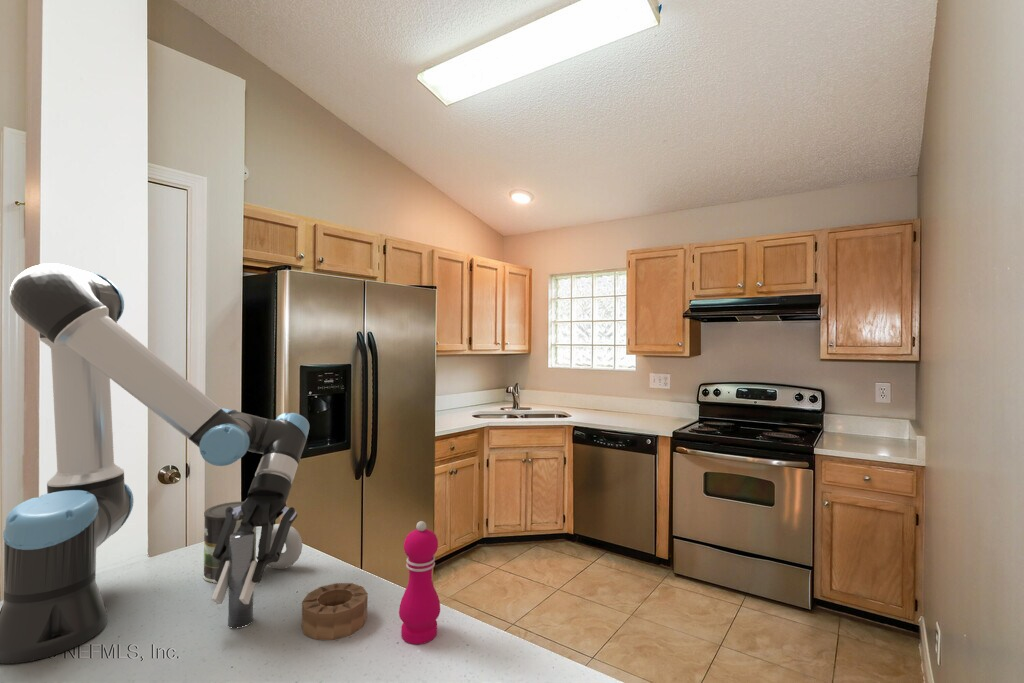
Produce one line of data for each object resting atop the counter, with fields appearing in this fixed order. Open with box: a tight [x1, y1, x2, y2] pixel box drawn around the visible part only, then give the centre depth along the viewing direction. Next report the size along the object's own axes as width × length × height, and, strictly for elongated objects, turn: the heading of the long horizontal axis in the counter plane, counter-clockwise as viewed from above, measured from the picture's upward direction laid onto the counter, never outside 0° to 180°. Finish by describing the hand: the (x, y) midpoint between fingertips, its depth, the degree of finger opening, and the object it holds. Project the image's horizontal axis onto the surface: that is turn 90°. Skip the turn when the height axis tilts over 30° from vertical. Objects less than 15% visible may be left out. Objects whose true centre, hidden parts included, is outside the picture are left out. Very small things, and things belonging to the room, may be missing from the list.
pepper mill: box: [398, 520, 441, 645], centre depth 89 cm, size 7×7×20 cm
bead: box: [301, 582, 369, 641], centre depth 92 cm, size 11×11×4 cm
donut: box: [257, 523, 303, 570], centre depth 113 cm, size 10×3×10 cm, turn 84°
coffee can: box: [202, 501, 257, 584], centre depth 111 cm, size 10×10×14 cm
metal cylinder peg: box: [227, 531, 255, 629], centre depth 91 cm, size 4×4×16 cm
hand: (230, 601), depth 87 cm, fingers closed on metal cylinder peg, 4 cm apart
